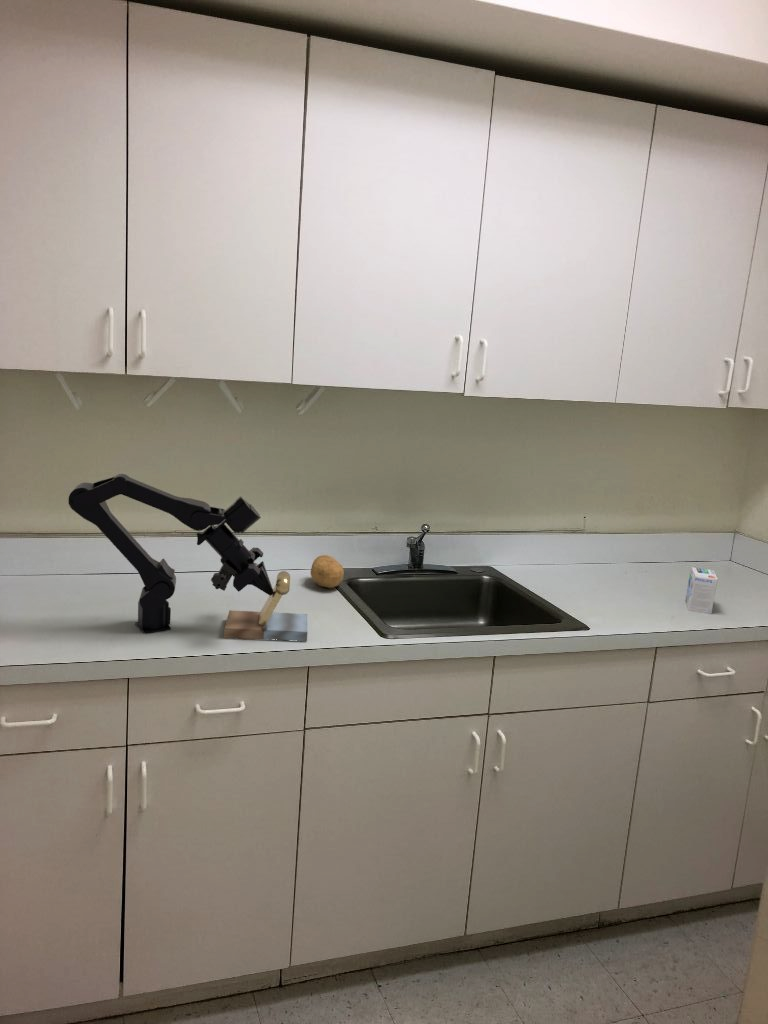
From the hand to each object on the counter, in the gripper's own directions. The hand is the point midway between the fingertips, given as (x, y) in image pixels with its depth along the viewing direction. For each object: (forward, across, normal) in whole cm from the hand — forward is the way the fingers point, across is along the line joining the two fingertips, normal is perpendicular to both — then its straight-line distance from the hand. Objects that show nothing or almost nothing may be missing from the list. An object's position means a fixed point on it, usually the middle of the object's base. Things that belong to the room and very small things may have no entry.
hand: (272, 594), depth 192 cm
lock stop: (+4, 0, -6) cm, 7 cm away
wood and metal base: (+6, 0, -7) cm, 9 cm away
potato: (+17, -37, +4) cm, 40 cm away
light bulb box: (+94, -35, +83) cm, 130 cm away
